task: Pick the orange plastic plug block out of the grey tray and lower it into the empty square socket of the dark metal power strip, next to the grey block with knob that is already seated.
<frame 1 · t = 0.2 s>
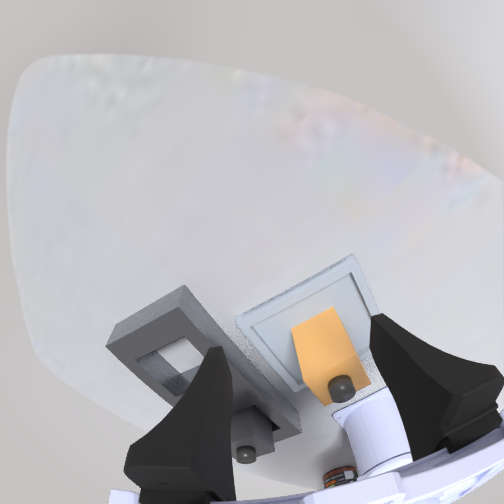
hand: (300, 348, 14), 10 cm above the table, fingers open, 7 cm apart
strip: (216, 378, 27), on the table
plug: (321, 332, 25), resting on tray
tray: (320, 329, 26), on the table
grey block with knob: (243, 403, 29), resting in strip
supplement bottle: (339, 471, 40), on the table
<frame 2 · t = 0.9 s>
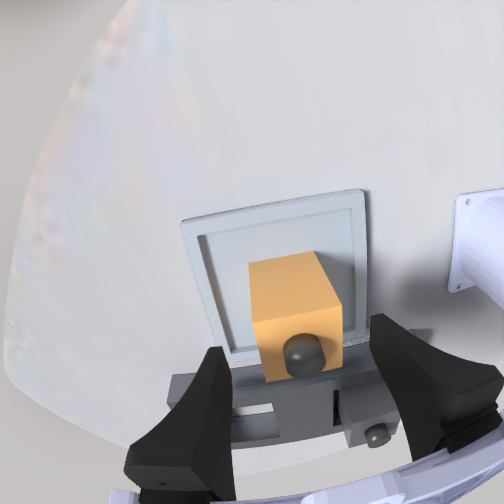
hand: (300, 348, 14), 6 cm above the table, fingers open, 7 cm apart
strip: (299, 389, 24), on the table
plug: (285, 284, 19), resting on tray
tray: (284, 281, 20), on the table
grey block with knob: (354, 376, 24), resting in strip
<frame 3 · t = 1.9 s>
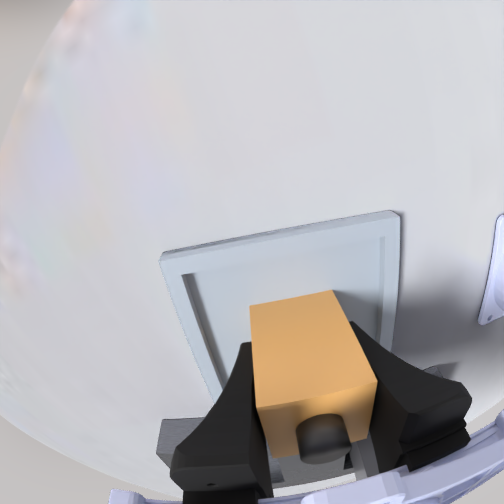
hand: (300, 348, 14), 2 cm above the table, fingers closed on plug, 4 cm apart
strip: (307, 432, 20), on the table
plug: (295, 330, 15), resting on tray, touching gripper
tray: (294, 325, 15), on the table
grey block with knob: (369, 416, 20), resting in strip
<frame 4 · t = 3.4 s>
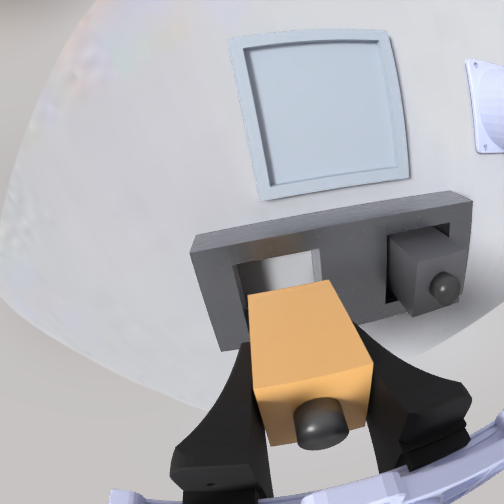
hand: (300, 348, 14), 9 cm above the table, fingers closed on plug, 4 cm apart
strip: (342, 259, 22), on the table
plug: (293, 320, 15), point 7 cm above the table, touching gripper
tray: (324, 107, 18), on the table
grey block with knob: (400, 246, 22), resting in strip
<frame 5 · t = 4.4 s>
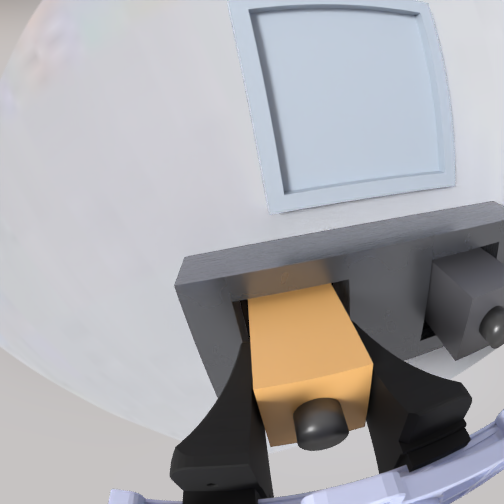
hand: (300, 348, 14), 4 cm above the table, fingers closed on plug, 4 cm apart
strip: (370, 286, 17), on the table
plug: (293, 320, 15), point 2 cm above the table, touching gripper
tray: (355, 90, 13), on the table
grey block with knob: (436, 268, 17), resting in strip
when the fingers open (3 cm above the table, at t = 4.9 s): plug drops 2 cm, resting in strip.
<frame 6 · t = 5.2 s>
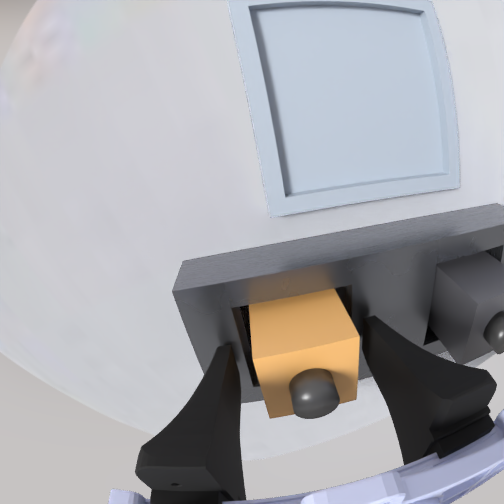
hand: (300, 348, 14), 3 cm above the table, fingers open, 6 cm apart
strip: (372, 290, 17), on the table
plug: (289, 303, 17), resting in strip
tray: (358, 90, 12), on the table
grey block with knob: (440, 272, 16), resting in strip
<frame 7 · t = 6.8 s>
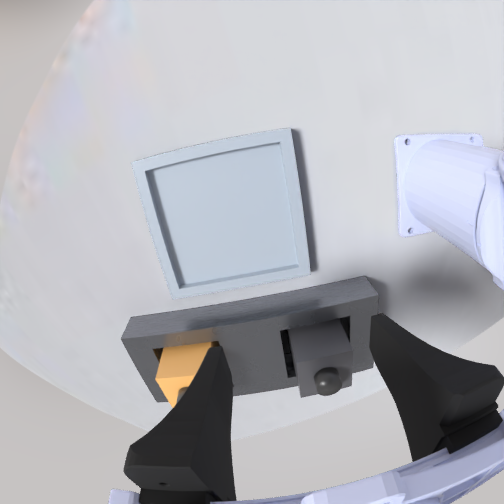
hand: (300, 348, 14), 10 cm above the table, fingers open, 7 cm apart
strip: (253, 337, 26), on the table
plug: (197, 343, 26), resting in strip
tray: (225, 216, 21), on the table
grey block with knob: (310, 326, 25), resting in strip
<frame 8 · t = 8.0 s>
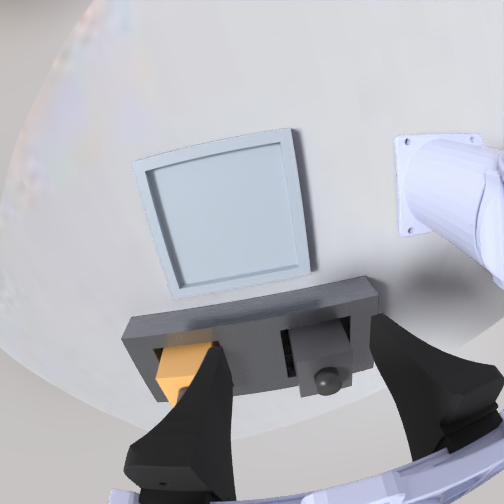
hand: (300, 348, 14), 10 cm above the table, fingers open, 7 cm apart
strip: (253, 337, 26), on the table
plug: (197, 343, 26), resting in strip
tray: (225, 216, 21), on the table
grey block with knob: (310, 326, 26), resting in strip
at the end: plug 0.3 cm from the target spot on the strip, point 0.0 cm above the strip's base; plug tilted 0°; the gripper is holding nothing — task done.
